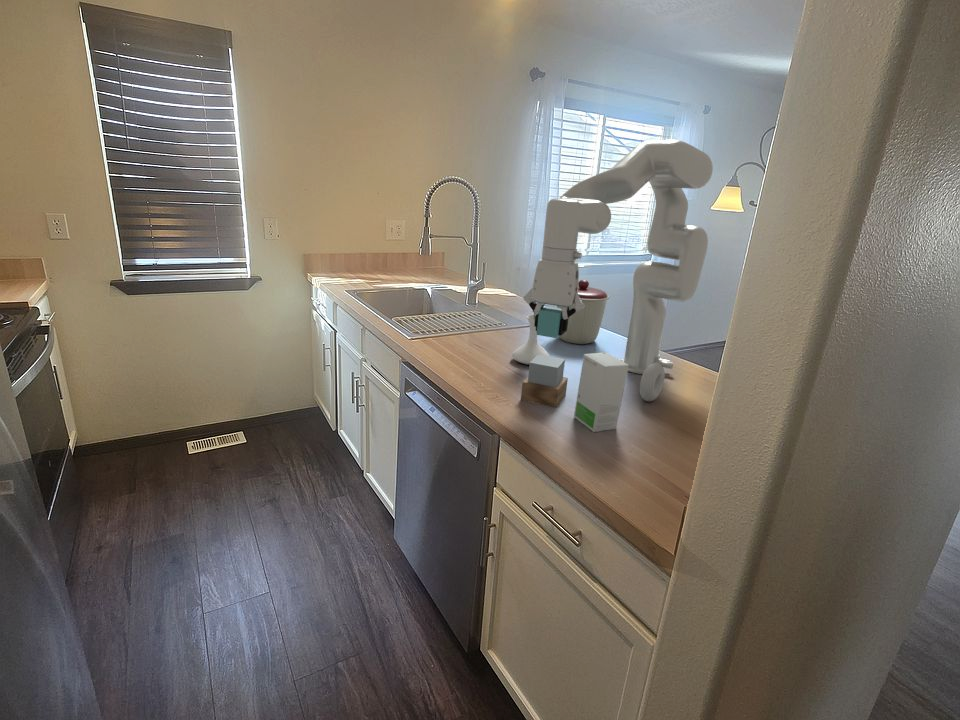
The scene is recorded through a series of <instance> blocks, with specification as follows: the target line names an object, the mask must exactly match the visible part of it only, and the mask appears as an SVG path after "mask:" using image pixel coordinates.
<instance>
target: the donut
mask: <svg viewBox="0 0 960 720" xmlns="http://www.w3.org/2000/svg"><path fill="white" fill-rule="evenodd" d="M664 368H665V367H663V366H661V365H660V364H659V363H652V364H650V365H649V366H648V367H647V368H646V369H645V371H644V373H643V374H641V375H642V376H641V378H640V383H639V395H640V396H641V398H642V399H643V400H644V401H645V402H653V401H655V400H656V399H657V398H658V397H659V396H660V393H661V391H662V389H663V385H664V381H665V376H666V375H665V369H664Z"/></svg>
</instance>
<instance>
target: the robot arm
mask: <svg viewBox="0 0 960 720" xmlns="http://www.w3.org/2000/svg"><path fill="white" fill-rule="evenodd" d="M712 175H713V162H712V159H711V158H710V155H708V154H707V153H706V152H704V151H702V150H701V149H699V148H697V147H695V146H693V145H691V144H690V143H687V142H685V141H683V140H678V139H665V140H658V139H656V140H653V139H652V140H645V141H642V142H640V143H639V144H637V145H636V146H635V147H634V148H632V149H631V150H630V151H629V152H628V153H627V154H626V155H625V156H623V157H622V158H621V159H620V160H619V161H618V162H616V164H614V165H613V166H612V167H611V168H610V169H607V170H603V171H602V172H600V173H598V174H595V175H592V176H591V177H588V178H586V179H584V180H582V181H580V182H578V183H576V184H574V185H573V186H572V187H570V188H569V189H567V191H566V192H564V193H563V194H562V195H561V196H560V197H559V198H551V199H550V200H549V201H548V203H547V206H546V213H545V214H546V215H545V222H544V223H545V225H544V234H543V242H542V243H543V244H542V253H541V258H540V259H539V260H538V262H537V266H536V268H535V273H534V278H533V283H532V288H531V289H529V291H528V292H526V294H525V295H524V296H523V298H522V299H523V301H524V302H525V303H527V304H528V306H529V307H530V309H531V310H532V311H534V312H533V315H534V314H535V324H534V326H535V327H536V331H537V326H538V316H539V310H540V309H542V308H544V307H545V305H551V306H556V307H557V306H561V311H562V319H560V326H559V335H563V334H564V333H565V332H566V331H567V326H568V318H569V317H570V316H571V315H573V314H574V313H576V312H577V311H579V310H581V309H583V308H584V307H585V305H584V303H583V302H582V300H581V298H580V297H579V295H578V283H579V281H580V280H579V277H580V276H579V274H580V273H579V272H580V271H579V263H578V262H575V261H576V260H578V259H579V260H581V259H582V257H583V253H582V252H579V251H578V249H577V245H578V236H579V233H582V234H590V235H596V234H599V233H601V232H604V231H605V230H606V229H607V228H608V227H609V225H610V224H611V220H612V212H611V209H610V207H609V206H608V204H614V203H619V202H622V201H625V200H628V199H631V198H632V197H633V196H635V195H636V194H637V193H638V192H639V191H640V190H641V189H642V188H643V187H644V186H646V184H647V183H649V184H650V186H651V189H652V191H653V193H654V200H655V208H654V213H653V217H652V221H651V226H650V229H649V234H648V238H647V245H646V247H647V248H646V249H647V251H648V253H649V254H650V255H652V256H654V257H657V258H663V259H669V260H674V261H679V262H678V263H679V264H678V265H676V264H671V263H666V262H661V261H653V260H652V261H644V262H642V263H641V264H639V265H638V266H636V268H635V270H634V272H633V281H632V285H633V298H632V299H633V300H632V307H631V309H632V310H631V315H630V319H629V321H630V322H629V327H628V334H627V338H626V339H627V341H626V345H625V350H624V351H625V353H624V357H623V358H619V360H621V361H623V362H624V363H626V364H628V365H629V367H628V372H630V373H633V374H637V375H638V374H639V375H643V373H644V371H645V369H646V368H647V367H648V366H649V365H650V364H652V363H659V364H660V365H661V366H663V368H665V369H671V370H673V367H674V362H672V361H670V360H671V359H669V360H668V359H663V358H662V357H661V354H660V350H661V349H660V348H661V344H662V339H663V333H664V332H663V331H664V327H665V323H666V322H665V321H666V317H667V308H666V305H665V302H664V300H669V301H674V302H679V303H686V302H688V301H690V300H691V299H692V298H693V297H694V296H695V294H696V291H697V288H698V285H699V282H700V277H701V274H702V270H703V266H704V263H705V259H706V256H707V250H708V245H709V239H708V238H709V237H708V233H707V232H706V230H705V229H704V228H702V227H701V226H699V225H698V226H697V225H690V224H686V220H687V219H686V218H687V214H688V209H689V203H688V199H687V196H686V193H685V191H684V189H690V190H692V189H693V190H694V189H695V190H696V189H701V188H702V187H705V185H707V184H708V183H709V181H711V178H712ZM574 303H576V306H575V307H574V308H572V309H571V310H570V307H569V306H571V305H572V304H574Z"/></svg>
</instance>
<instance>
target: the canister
mask: <svg viewBox="0 0 960 720" xmlns="http://www.w3.org/2000/svg"><path fill="white" fill-rule="evenodd" d="M578 295H579V297H580V298H581V300H582V302H583V303H584V305H585V307H584V308H583V309H581V310H579V311H577V312H576V313H574V314H573V315H571V316H570V317H569V318H568V326H567V331H566V332H565V333H564V334H563V335H561V336H559V337H558V338H559V339H561V340H562V341H564V342H566V343H570V344H575V345H588V344H591V343H593V342H595V341H596V339H597V338H598V335H599V333H600V329H601V325H602V322H603V317H604V314H605V309H606V307H607V306H606V305H607V301H608V300H609V299H610V295H609V294H607V293H606V292H605V291H604V290H602V289H599V288H595V287H591V286H590V282H589V281H588V280H586V279H581V280H579V282H578ZM575 306H576V303H574V304H572V305H571V306H569V307H570V310H571V309H572V308H574V307H575ZM556 308H559V309H561V306H556Z"/></svg>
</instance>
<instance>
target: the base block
mask: <svg viewBox="0 0 960 720" xmlns="http://www.w3.org/2000/svg"><path fill="white" fill-rule="evenodd" d="M568 380H569V379H568V377H564V376H563V379H562V380H561V381H560V383H559V384H558V385H557V386H556V387H551V386H546V385H541V384H536V383H531V382H528V376H527V377H526V378H525V379H524V380H522V383H521V392H520V393H521V394H520V401H524V402H529V403H531V404H532V403H533V404H537V405H542V406H546V407H551V408H554V409H556V408H558V406H559V405H560V404H561V402H562V401H563V400H564V398H566V396H567V390H568V389H567V388H568Z"/></svg>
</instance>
